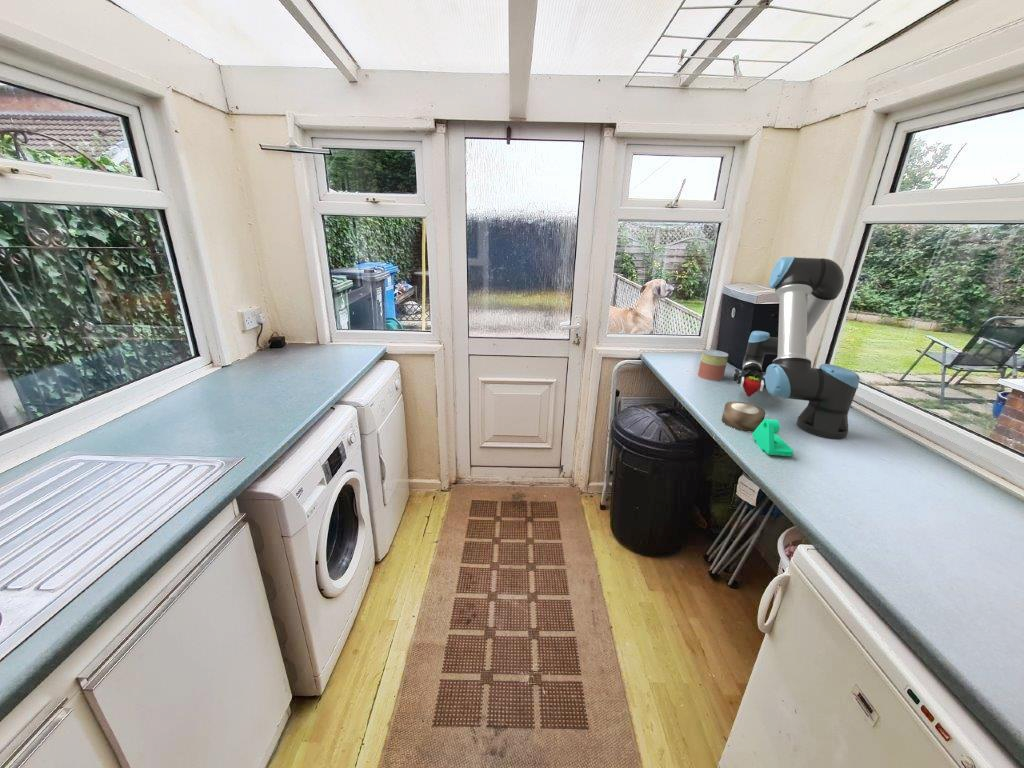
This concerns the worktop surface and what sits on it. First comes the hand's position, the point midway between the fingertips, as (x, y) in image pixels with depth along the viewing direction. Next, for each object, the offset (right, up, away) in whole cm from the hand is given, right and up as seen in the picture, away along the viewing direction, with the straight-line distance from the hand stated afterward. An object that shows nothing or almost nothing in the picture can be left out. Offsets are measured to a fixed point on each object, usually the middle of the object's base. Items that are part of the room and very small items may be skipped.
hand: (751, 386), depth 164 cm
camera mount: (-10, -21, -28) cm, 36 cm away
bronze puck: (-10, -14, -11) cm, 20 cm away
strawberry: (+2, -4, +6) cm, 8 cm away
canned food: (+1, +4, +37) cm, 37 cm away
